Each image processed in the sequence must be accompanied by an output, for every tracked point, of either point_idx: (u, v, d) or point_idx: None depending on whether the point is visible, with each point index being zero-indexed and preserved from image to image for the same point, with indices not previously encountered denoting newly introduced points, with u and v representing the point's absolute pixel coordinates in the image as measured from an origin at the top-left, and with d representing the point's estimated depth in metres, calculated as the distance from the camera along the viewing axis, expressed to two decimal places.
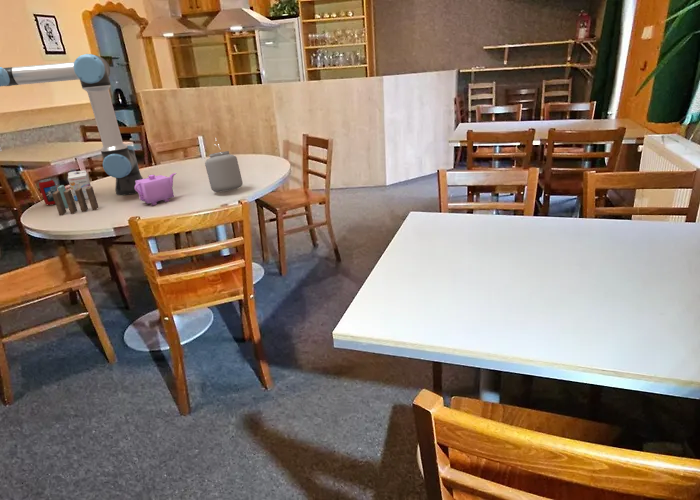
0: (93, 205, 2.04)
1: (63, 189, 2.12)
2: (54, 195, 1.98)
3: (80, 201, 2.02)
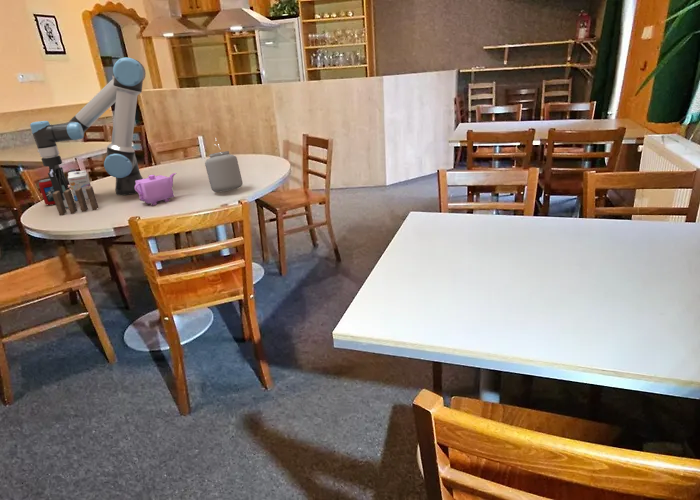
0: (93, 205, 2.04)
1: (63, 189, 2.12)
2: (54, 195, 1.98)
3: (80, 201, 2.02)
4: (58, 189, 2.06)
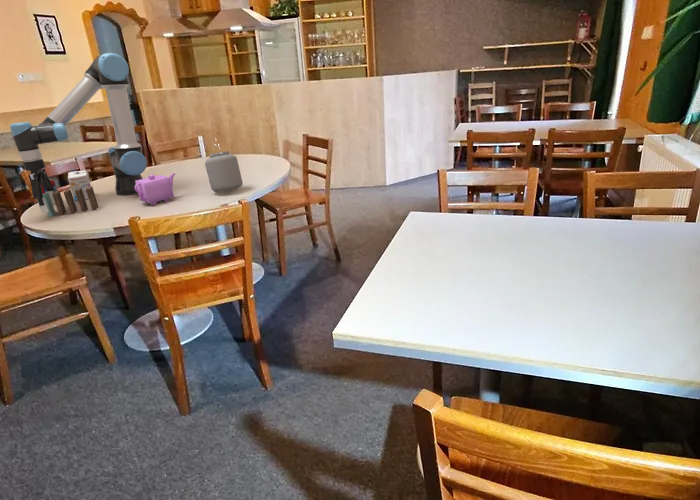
0: (93, 205, 2.04)
1: (47, 197, 1.99)
2: (54, 195, 1.98)
3: (80, 201, 2.02)
4: (37, 193, 1.90)
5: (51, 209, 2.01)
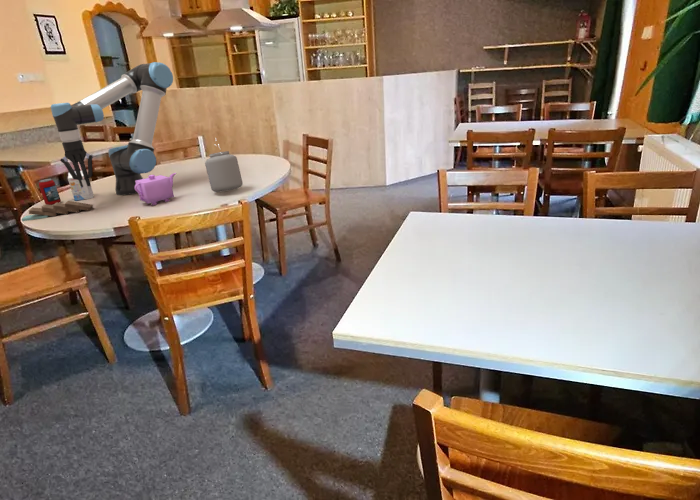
0: (84, 207, 2.03)
1: (27, 217, 2.00)
2: (31, 212, 1.97)
3: (66, 208, 2.01)
4: None
5: (41, 215, 2.01)
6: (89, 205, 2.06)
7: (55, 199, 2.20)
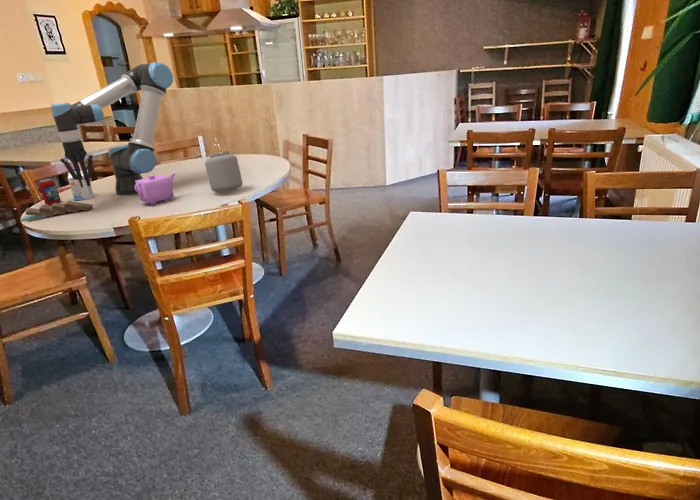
0: (83, 207, 2.03)
1: (25, 217, 2.00)
2: (28, 213, 1.95)
3: (65, 208, 2.01)
4: None
5: None
6: (88, 205, 2.06)
7: (55, 199, 2.20)
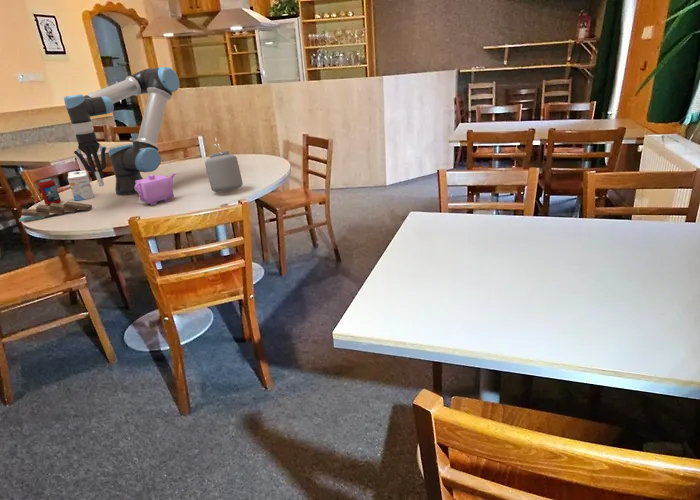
0: (82, 207, 2.03)
1: (24, 217, 1.99)
2: (24, 214, 1.94)
3: (62, 208, 2.01)
4: None
5: None
6: (88, 205, 2.06)
7: (55, 199, 2.20)
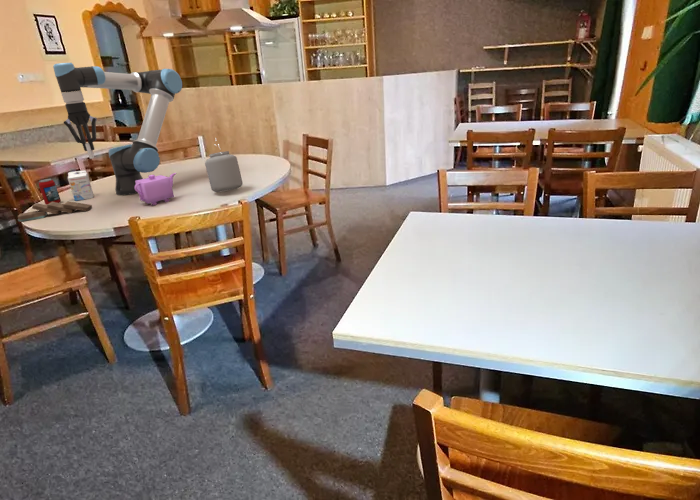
0: (81, 208, 2.03)
1: None
2: (20, 218, 1.96)
3: (60, 208, 2.02)
4: None
5: None
6: (87, 205, 2.06)
7: (55, 199, 2.20)
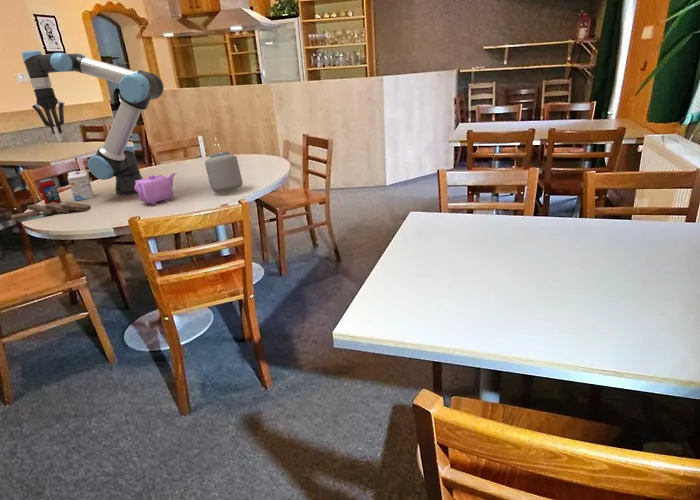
0: (79, 208, 2.03)
1: None
2: (14, 219, 1.96)
3: (57, 209, 2.03)
4: None
5: None
6: (86, 206, 2.06)
7: (55, 199, 2.20)
